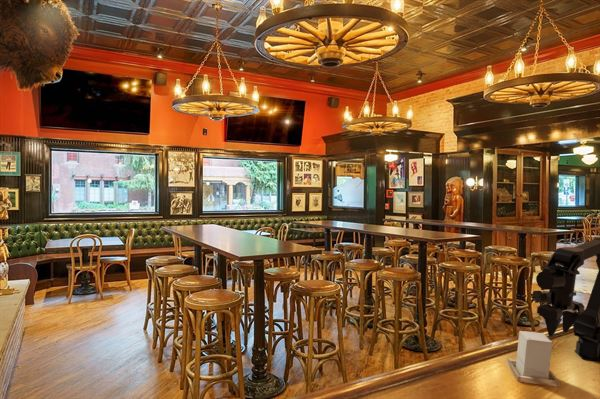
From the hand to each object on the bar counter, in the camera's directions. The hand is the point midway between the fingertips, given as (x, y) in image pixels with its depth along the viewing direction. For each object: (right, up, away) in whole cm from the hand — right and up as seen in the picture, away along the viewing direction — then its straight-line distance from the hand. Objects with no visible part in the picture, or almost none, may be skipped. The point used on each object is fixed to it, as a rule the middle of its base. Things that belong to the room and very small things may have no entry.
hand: (557, 333), depth 135 cm
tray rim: (-12, -11, -6) cm, 17 cm away
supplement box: (-12, -11, -6) cm, 17 cm away
